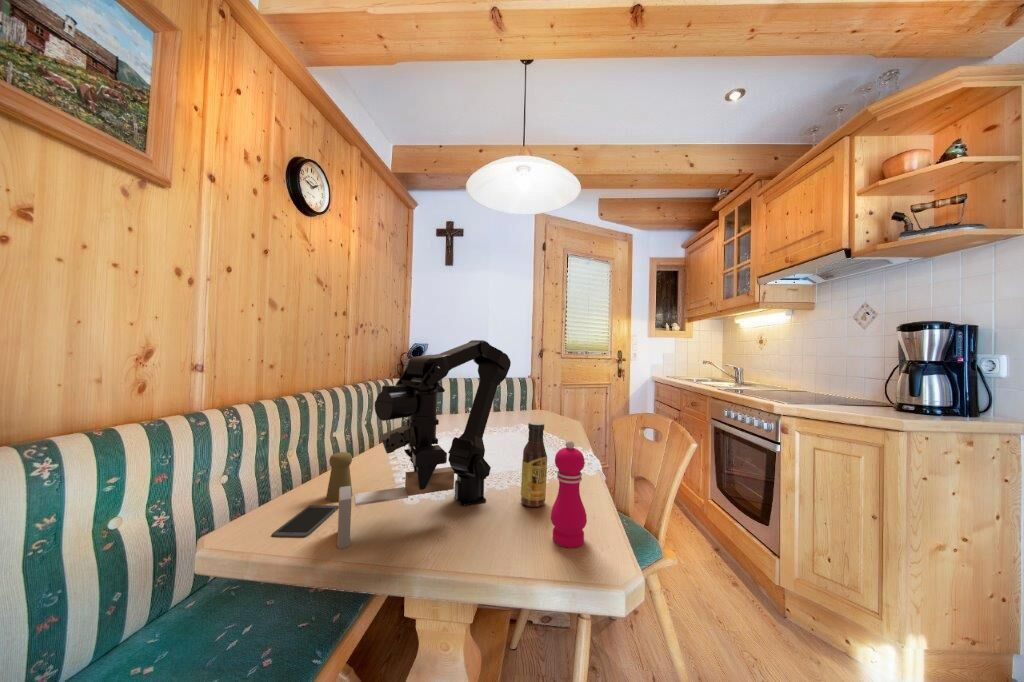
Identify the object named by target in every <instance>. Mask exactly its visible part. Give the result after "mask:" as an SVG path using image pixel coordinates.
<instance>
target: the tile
mask: <svg viewBox="0 0 1024 682" xmlns="http://www.w3.org/2000/svg"><path fill="white" fill-rule="evenodd" d="M338 506H339V508H338V510H337V511H338V512H337V513H338V515H337V517H338V518H337V545H336V548H337V549H344V548H350V546H351V521H352V519H351V518H352V497H351V486H345V487H340V489H339V502H338Z"/></svg>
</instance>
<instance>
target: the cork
mask: <svg viewBox="0 0 1024 682" xmlns="http://www.w3.org/2000/svg"><path fill="white" fill-rule="evenodd" d="M352 461H353V457H352V454H351V453H350V452H347V451H340V452H336V453H332V455H330V457H329V461H328V463H329V466H330V467H331V468H330V476H329V480H328V486H327V490H326V491H327V492H326V498H325V500H326V501H327V502H330V503H337V502H338V503H339V489H340V487H345V486H351V498H352V497H353V487H352V478H351V468H350V467H351V464H352Z"/></svg>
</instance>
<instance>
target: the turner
mask: <svg viewBox="0 0 1024 682" xmlns="http://www.w3.org/2000/svg"><path fill="white" fill-rule="evenodd" d="M404 477H405V481H404V486H400V487H395V488H387V489H381V490H374V491H365V492H364V491H363V492H358V493H354V506H355V507H358V506H364V505H370V504H376V503H384V502H390V501H398V500H403V499H409V497H410V496H416V495H424V494H430V493H436V492H437V493H438V492H444V491H450V490H455V474H454V470H453V469H452V468H451V466H448V467H447V466H446V467H438V468H437V467H436V468H435V470H434V472H433V474H432V476H431V478H430V480H429V482H428V484H427V486H426V488H425V489H423V490H420V488H419V482H418V474H417V471H414V470H413V471H405V476H404Z"/></svg>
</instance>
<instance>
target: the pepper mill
mask: <svg viewBox="0 0 1024 682" xmlns="http://www.w3.org/2000/svg"><path fill="white" fill-rule="evenodd" d="M585 463H586V462H585V456H584V454H583V452H582V451H580V450H579V449H578V448H576V447H575V443H574V441H573V440H571V439H569V440H568V439H567V441H566V442H565V447H562V448H561V449H559V450H558V451H557V452H556V454H555V458H554V464H555V467H556V468H557V469H558V470H557V471H556V474H557V475H556V479H557V480H558V485H559V486H558V492H557V495H556V499H555V500H554V503H553V504H552V509H551V511H550V521H551V523H552V525H553V526H554V527H553V528H552V540H553V542H554V543H555V544H556V543H557V544H556V545H558V546H560V547H562V546H563V548H566V547H568V549H569V548H570V549H574V548H575V547H576V548H579V547H581V546H582V545H583V544H584V542H585V531H584V529H585V527H586V525H587V521H588V520H587V519H588V518H587V513H586V512H587V511H586V508H585V506H584V503H583V501H582V498H581V494H580V493H581V492H580V485H581V484H580V483H581V482H582V480H583V479H582V476H583V473H582V472H581V471H582V470H584V467H585V465H586V464H585ZM576 548H575V549H576Z"/></svg>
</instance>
